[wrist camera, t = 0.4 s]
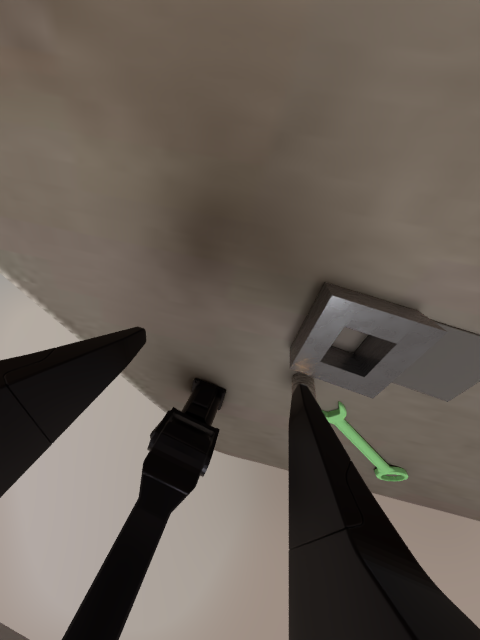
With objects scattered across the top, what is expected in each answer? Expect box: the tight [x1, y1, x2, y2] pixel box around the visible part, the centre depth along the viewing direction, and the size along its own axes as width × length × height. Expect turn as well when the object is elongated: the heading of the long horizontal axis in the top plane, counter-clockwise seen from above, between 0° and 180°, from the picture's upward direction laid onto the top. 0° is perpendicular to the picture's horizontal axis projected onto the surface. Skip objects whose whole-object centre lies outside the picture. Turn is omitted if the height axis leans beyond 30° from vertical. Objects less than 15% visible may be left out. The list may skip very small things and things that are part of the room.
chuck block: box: [290, 282, 448, 398], centre depth 20 cm, size 10×10×4 cm
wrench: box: [322, 401, 408, 481], centre depth 30 cm, size 25×2×5 cm
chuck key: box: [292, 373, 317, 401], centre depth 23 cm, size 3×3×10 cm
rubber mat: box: [392, 321, 480, 402], centre depth 20 cm, size 9×9×1 cm
